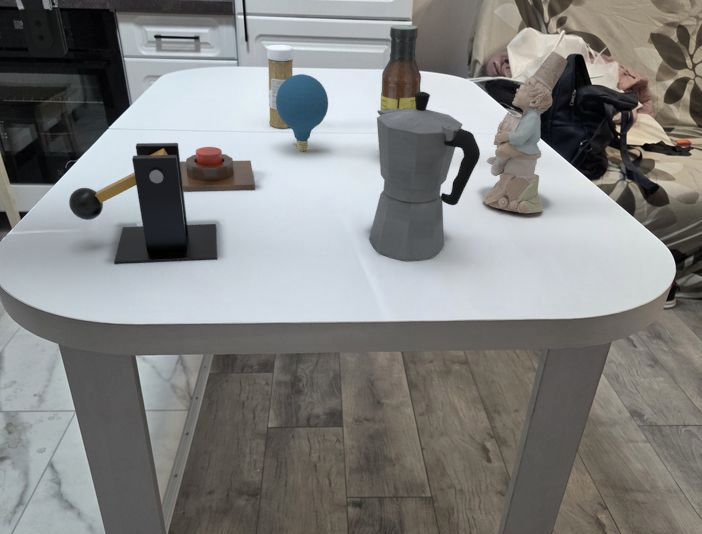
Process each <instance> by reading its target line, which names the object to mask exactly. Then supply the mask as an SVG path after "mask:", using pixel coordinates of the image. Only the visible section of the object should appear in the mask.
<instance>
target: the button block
mask: <svg viewBox="0 0 702 534" xmlns="http://www.w3.org/2000/svg"><path fill="white" fill-rule="evenodd" d="M233 159H234V158H233V157H231V156H229V155H227V154H224V153H222V162H223V163H221V164H218V165H209V166H205V165H200V164H197V160H196V154H192V155H191V156H188V157H187V158H186V159H185V161H180V165H181V174H182V183H183V191H184V193H189V192H190V193H192V192H196V193H197V192H198V193H199V192H231V191H232V192H233V191H234V192H235V191H238V192H239V191H256V183H255V179H254V173H253V166H252V160H233Z"/></svg>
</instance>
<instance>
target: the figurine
mask: <svg viewBox="0 0 702 534" xmlns="http://www.w3.org/2000/svg"><path fill="white" fill-rule="evenodd" d="M567 65H568V60H567V59H566V58H565V57H564V56H563V55H561V54H559V53H558V52H556V51H551V52H550V53H549V54H548V55H547V56H546V58H545V59H544V61H542V63H541V64H540V65H539V67H538V69H536V71H535V72H534V73H533V75H530V76H529V77H527V78H525V79H524V86H522V88H516V93H515V94H514V96H515V97H514V98H513V101H512V103H511V104H512V105H513V107H517V108H519V109H521V110H522V115H521V116H520V117H519V116H516V115H513V114H512V113H510V112H509V111H507V112H506V114H505V115H504V117H503V119H502V121H500V122H499V124H498V127H497V132H496V134H495V135H494V141H493V146H496V149H495V150H494V154H495V156H490V157H489V158H487V159H486V163H487V164H489V165H491V168H490V173H491V175H493V176H494V177H498V176H499V180H498V181H497V182H495V184H494V186H493V187H492V188H491V189H490V190H489V191H487V193H485V195H484V196H483V198H482V202H483V203H485V205H489V206H490V207H492V208H496V209H500V210H503V211H508V212H514V213H519V214H534V213H540V212H543V211H544V205H543V204H542V202H541V200H540V196H539V183H540V175H539V174H536V173H535V171H536V166H537V163H538V159H540V158H542V151H541V149H540V148H539V146H538V143H539V142H540V141H541V121H542V120H541V114H544V112H546V111H548V109H549V108H550V107H552V105H553V97H552V94H553V89H554V88H555V86H556V85H557V82H558V81H559V79H560V78H561V76H562V75H563V73H564V71H565V69H566V68H567Z"/></svg>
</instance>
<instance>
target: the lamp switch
mask: <svg viewBox="0 0 702 534" xmlns="http://www.w3.org/2000/svg"><path fill="white" fill-rule="evenodd" d="M163 148H164V150H165V151H166V153H167V154H168V155H151V154H153V153H155V152H157V151H159V150H161V149H163ZM135 150H136V151H135V152H136V155H132V158H131V161H132V166H133V167H132V168H133V173H135V180H136V185H135V186H136V192H137V198H138V205H139V210H140V216H141V223H142V226H140V225H139V226H123V227H122V229H121V232H120V237H119V241H118V246H117V249H116V253H115V256H114V261H113V263H114V265H128V264H150V263H173V262H175V263H176V262H195V261H197V262H199V261H217V260H218V242H217V239H218V238H217V237H218V236H217V223H201V224H199V223H198V224H188V219H187V218H188V217H187V210H186V202H185V201H186V200H185V192H184V191H183V183H182V174H181V165H180V162H181V158H180V157H181V156H180V149H179V143H178V142H154V143H153V142H148V143H147V142H145V143H144V142H141V143H140V142H138V143H136V144H135Z"/></svg>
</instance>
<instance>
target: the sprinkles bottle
mask: <svg viewBox="0 0 702 534" xmlns="http://www.w3.org/2000/svg"><path fill="white" fill-rule="evenodd" d="M266 57H267V61H268V63H267V64H268V107H269V122H268V123H269V126H271V127H272V128H277V129H287V128H290V127H289V126H288V125H287V124H285V123H284V121H283V120H282V119H281V117H280V116H279V114H278V111H277V108H276V96H277V92H278V90H279V88H280V86H281V85H282V83H283V82H284V81H285V80H286V79H288V78H290V77H292V76H293V61H294V48H293V46H291V45H287V44H271V45H267V48H266Z"/></svg>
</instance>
